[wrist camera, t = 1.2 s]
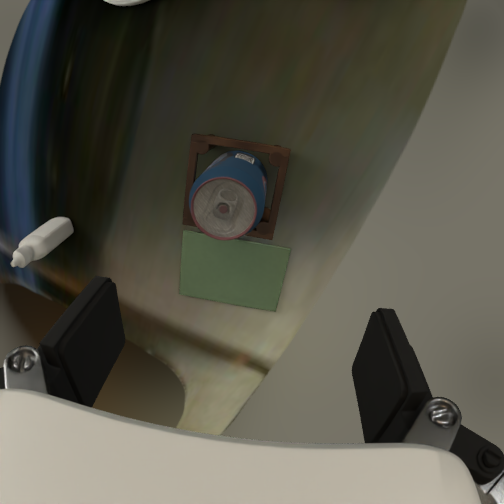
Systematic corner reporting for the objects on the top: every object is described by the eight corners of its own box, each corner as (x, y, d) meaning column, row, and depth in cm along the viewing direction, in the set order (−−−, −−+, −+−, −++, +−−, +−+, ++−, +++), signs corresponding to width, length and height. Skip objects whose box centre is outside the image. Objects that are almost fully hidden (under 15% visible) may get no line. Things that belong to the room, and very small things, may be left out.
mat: (179, 292, 46) (179, 294, 46) (184, 229, 42) (183, 230, 41) (275, 310, 46) (275, 311, 46) (290, 248, 42) (290, 249, 42)
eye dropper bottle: (47, 208, 42) (-3, 242, 31) (76, 220, 42) (27, 258, 32) (46, 233, 44) (-1, 270, 33) (73, 245, 44) (28, 286, 34)
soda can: (254, 213, 40) (246, 258, 29) (202, 192, 39) (174, 230, 29) (276, 162, 37) (277, 189, 26) (221, 140, 36) (198, 158, 26)
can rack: (192, 209, 41) (182, 224, 36) (202, 129, 36) (191, 134, 31) (272, 223, 41) (272, 240, 36) (288, 143, 36) (290, 150, 32)
